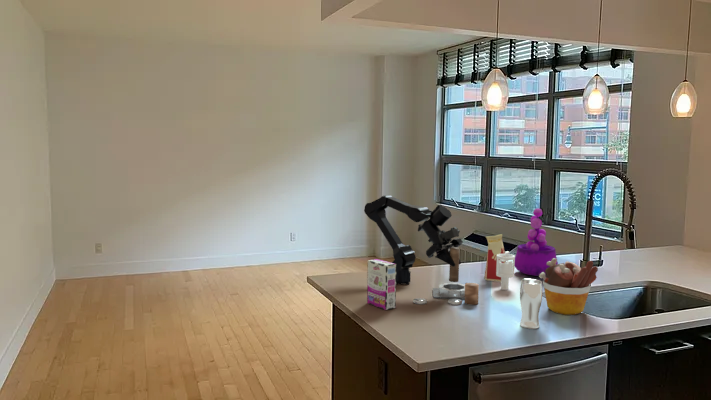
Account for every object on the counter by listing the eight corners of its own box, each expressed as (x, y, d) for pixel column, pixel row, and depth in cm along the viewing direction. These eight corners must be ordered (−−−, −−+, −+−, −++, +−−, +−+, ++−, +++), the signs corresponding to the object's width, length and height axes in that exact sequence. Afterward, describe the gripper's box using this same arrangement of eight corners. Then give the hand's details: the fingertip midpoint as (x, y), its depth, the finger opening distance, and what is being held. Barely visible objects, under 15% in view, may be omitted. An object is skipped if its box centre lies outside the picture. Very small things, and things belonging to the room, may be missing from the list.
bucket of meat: (528, 306, 204) (530, 253, 202) (559, 300, 212) (561, 248, 210) (574, 322, 187) (577, 264, 184) (606, 314, 195) (609, 259, 193)
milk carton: (506, 277, 246) (507, 232, 244) (504, 282, 238) (506, 235, 235) (485, 275, 249) (486, 231, 247) (482, 280, 240) (484, 234, 238)
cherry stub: (464, 304, 206) (465, 286, 205) (464, 300, 211) (464, 282, 210) (478, 305, 206) (479, 286, 205) (477, 301, 211) (478, 283, 210)
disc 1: (413, 305, 207) (413, 301, 207) (413, 300, 212) (413, 297, 211) (426, 305, 206) (426, 302, 206) (426, 301, 211) (426, 298, 211)
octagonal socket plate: (433, 298, 214) (433, 290, 214) (432, 289, 226) (432, 282, 226) (475, 299, 212) (476, 291, 212) (473, 291, 224) (473, 283, 224)
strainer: (515, 287, 229) (516, 252, 227) (511, 292, 223) (512, 255, 221) (498, 285, 232) (499, 250, 230) (493, 289, 226) (494, 253, 224)
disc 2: (448, 305, 206) (448, 302, 206) (447, 301, 211) (448, 298, 211) (462, 306, 205) (462, 302, 205) (461, 302, 210) (461, 298, 210)
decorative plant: (560, 280, 240) (564, 211, 237) (516, 278, 243) (518, 210, 240) (553, 270, 259) (556, 206, 255) (511, 268, 262) (514, 205, 258)
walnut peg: (452, 282, 216) (453, 249, 214) (447, 280, 219) (448, 247, 218) (460, 281, 217) (461, 248, 216) (455, 279, 221) (456, 247, 219)
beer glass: (515, 322, 187) (517, 278, 185) (535, 322, 187) (537, 278, 186) (523, 329, 180) (525, 284, 178) (544, 329, 181) (546, 283, 179)
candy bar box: (396, 308, 202) (397, 263, 200) (386, 310, 199) (386, 265, 197) (376, 300, 210) (377, 258, 209) (366, 303, 207) (366, 259, 206)
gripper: (433, 223, 211) (457, 256, 205) (459, 218, 225) (483, 249, 219) (415, 241, 218) (438, 273, 212) (442, 234, 231) (464, 265, 225)
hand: (457, 265), depth 217 cm, fingers closed on walnut peg, 4 cm apart
